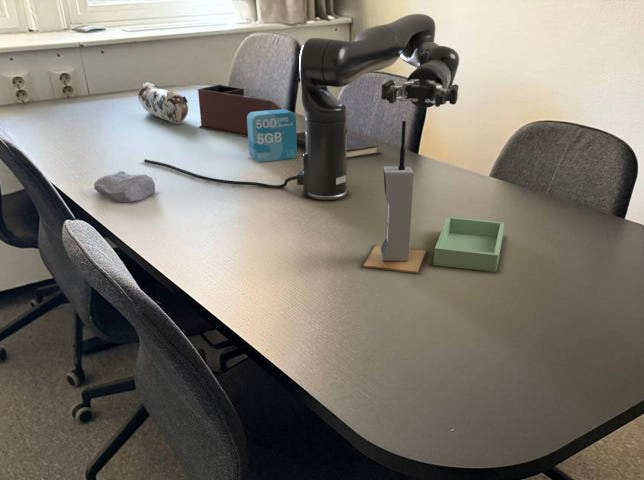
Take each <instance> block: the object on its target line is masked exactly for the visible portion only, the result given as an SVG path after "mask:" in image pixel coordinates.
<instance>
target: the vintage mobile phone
mask: <svg viewBox="0 0 644 480" xmlns="http://www.w3.org/2000/svg"><path fill="white" fill-rule="evenodd" d="M406 125H407V121H406V120H402V122H401V137H400V138H401V139H400V150H399V164H398V166H391V165H390V166H385V165H384V166H383V167H382V168H383V185H384V186H383V187H384V189H383V190H384V195H385V197H386V221H385V222H386V223H385V239H384V241H383V242H382V244H381V245H380V246H381V248H380V254H381V258H382V261H408V260H409V249H410V242H411V226H412V211H413V210H412V209H413V193H414V191H413V190H414V177H415V175H414V172H413V169H412V168H411V166H406V165H405V161H406V160H405V157H406V148H405V147H406V145H405V144H406Z"/></svg>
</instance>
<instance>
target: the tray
mask: <svg viewBox="0 0 644 480" xmlns="http://www.w3.org/2000/svg"><path fill="white" fill-rule="evenodd" d="M504 230H505V222H503V221H495V220H484V219H477V218H475V219H474V218H466V217H465V218H464V217H455V216H446V219H445V222H444V224H443V227H442V229H441V232H440V233H439V236H438V238H437V240H436V244H435V246H434V251H433V263H432V264H433V266H441V267H449V268H456V269H465V270H473V271H483V272H491V273H492V272H493V273H496V272H497V270H498V263H499V259H500V253H501V248H502V243H503V237H504Z"/></svg>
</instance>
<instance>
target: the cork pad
mask: <svg viewBox="0 0 644 480" xmlns="http://www.w3.org/2000/svg"><path fill="white" fill-rule="evenodd" d="M381 246H382V245H377V244H376V245H375V246H374V247H373V249H372V250H371V252H370V253H369V256H368V257H367V259H366V260H365V262H364V264H363V268H367V269H377V270H385V271H393V272H401V273H409V274H418V273H419V271H420V267H421V266H422V264H423V261H424V258H425V256H426V254H427V250H420V249H412V248H409V260H408V261H382V258H381V254H380V248H381Z"/></svg>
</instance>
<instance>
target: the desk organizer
mask: <svg viewBox="0 0 644 480" xmlns="http://www.w3.org/2000/svg"><path fill="white" fill-rule="evenodd" d="M197 94H198V95H197V96H198V105H199V115H200V116H199V117H200V124H201V125H199V126H198V127H199V128H201V129H207V130H211V131H215V132H221V133H228V134H232V135H237V136H243V137H247V138H248V125H247V116H248V114H249V113H250V112H256V111H268V110H280V109H282V107H280V106H279V105H278V104H277V103H276V102H274V101H273V100H268V99H264V98H263V99H262V98H258V97H257V98H256V97H249V96H245V89H244V88H243V87H236V86H231V85H223V84H216V85H215V84H214V85H211V86H206V87H201V88H197Z"/></svg>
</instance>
